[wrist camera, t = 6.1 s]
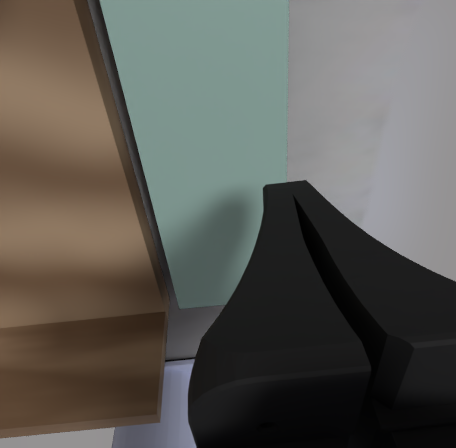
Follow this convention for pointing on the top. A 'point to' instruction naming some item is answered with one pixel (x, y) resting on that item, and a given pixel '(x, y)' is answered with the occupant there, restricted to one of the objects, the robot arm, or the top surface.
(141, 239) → the wooden drawer
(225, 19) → the green flat rectangular panel
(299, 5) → the top surface
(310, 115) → the top surface
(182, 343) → the top surface
